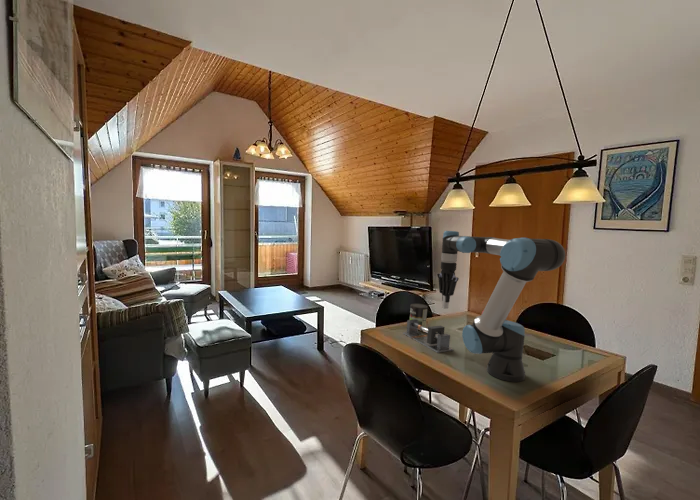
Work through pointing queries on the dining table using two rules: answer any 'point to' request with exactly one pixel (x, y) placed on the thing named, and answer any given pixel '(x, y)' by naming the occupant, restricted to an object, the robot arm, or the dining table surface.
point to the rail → (413, 333)
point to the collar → (432, 331)
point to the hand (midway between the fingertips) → (445, 308)
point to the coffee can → (419, 313)
